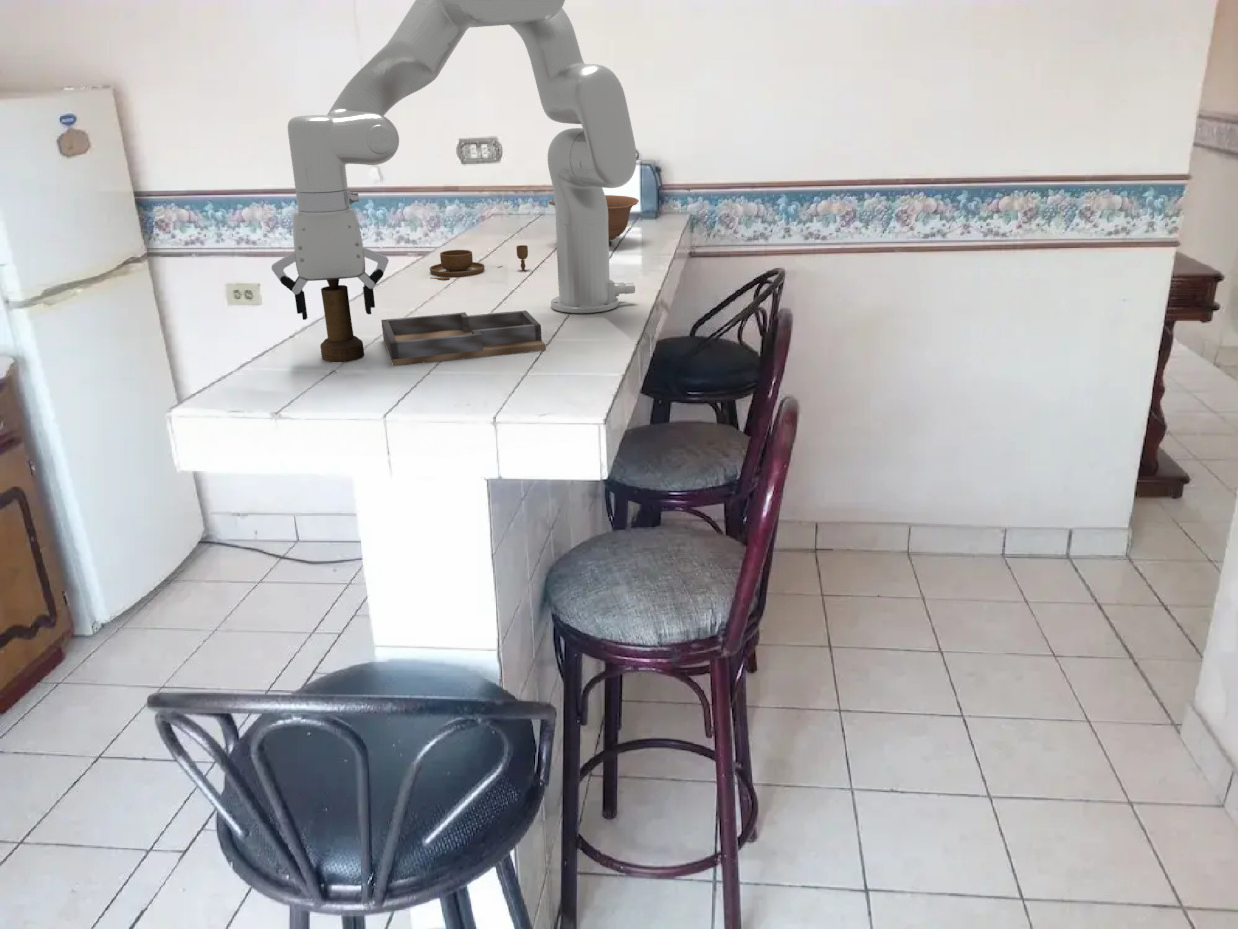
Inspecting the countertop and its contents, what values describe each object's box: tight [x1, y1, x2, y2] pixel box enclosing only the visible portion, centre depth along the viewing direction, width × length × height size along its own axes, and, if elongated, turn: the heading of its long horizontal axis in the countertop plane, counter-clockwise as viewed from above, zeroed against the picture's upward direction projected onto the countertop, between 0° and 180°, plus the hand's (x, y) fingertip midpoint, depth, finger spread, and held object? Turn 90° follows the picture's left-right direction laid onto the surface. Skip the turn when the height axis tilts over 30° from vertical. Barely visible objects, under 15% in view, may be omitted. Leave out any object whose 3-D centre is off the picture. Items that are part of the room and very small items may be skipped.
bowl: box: [548, 194, 639, 247], centre depth 249 cm, size 22×22×11 cm
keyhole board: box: [380, 310, 546, 367], centre depth 165 cm, size 24×16×4 cm, turn 107°
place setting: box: [429, 244, 529, 281], centre depth 220 cm, size 18×20×6 cm
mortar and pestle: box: [320, 279, 365, 363], centre depth 157 cm, size 7×6×18 cm
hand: (337, 315), depth 158 cm, fingers open, 9 cm apart
